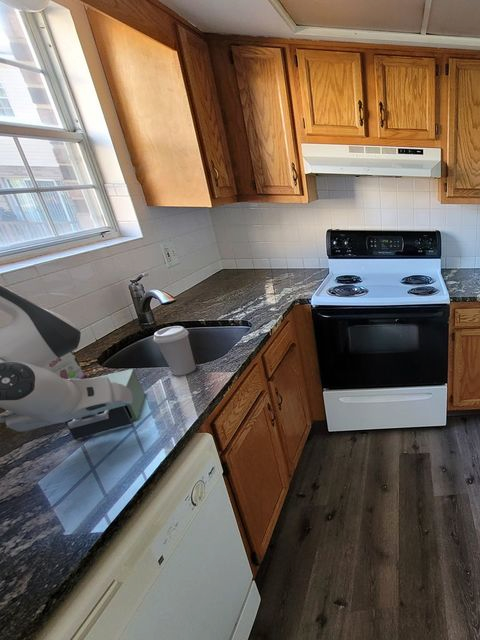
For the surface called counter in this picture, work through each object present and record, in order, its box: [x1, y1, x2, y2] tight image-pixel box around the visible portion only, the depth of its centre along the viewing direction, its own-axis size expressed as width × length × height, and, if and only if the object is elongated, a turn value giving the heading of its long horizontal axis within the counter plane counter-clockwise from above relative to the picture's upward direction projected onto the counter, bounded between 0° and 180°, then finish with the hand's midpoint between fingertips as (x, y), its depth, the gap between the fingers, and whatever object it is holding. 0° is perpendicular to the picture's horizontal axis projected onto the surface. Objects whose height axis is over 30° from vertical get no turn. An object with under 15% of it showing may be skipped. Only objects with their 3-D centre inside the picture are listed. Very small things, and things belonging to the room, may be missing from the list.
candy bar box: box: [43, 351, 88, 379], centre depth 104 cm, size 11×5×16 cm, turn 0°
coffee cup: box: [152, 325, 197, 376], centre depth 121 cm, size 10×10×15 cm
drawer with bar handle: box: [64, 405, 133, 440], centre depth 96 cm, size 18×11×7 cm, turn 31°
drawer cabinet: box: [93, 368, 146, 422], centre depth 101 cm, size 15×13×9 cm
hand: (89, 414), depth 89 cm, fingers closed, pressing on drawer with bar handle
